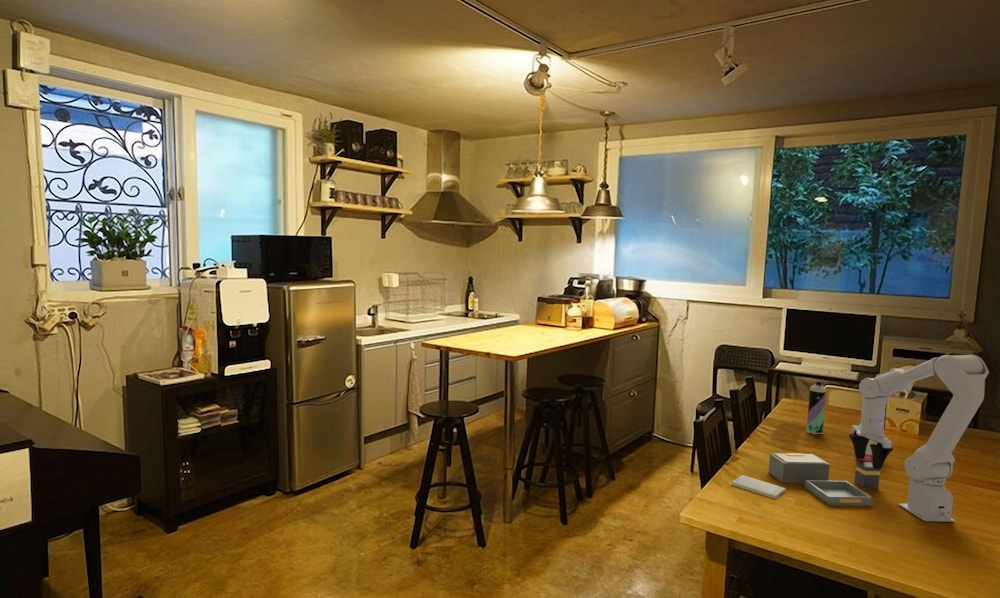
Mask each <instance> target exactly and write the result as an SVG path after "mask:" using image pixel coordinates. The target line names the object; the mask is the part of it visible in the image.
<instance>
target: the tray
mask: <svg viewBox="0 0 1000 598" xmlns="http://www.w3.org/2000/svg"><path fill="white" fill-rule="evenodd" d="M804 489H805V490H807V491H808V492H809V493H810V494H812V495H813V496H815V497H816V498H818V499H819V500H820V501H821V502H822V503H824V504H825V505H827V506H848V507H849V506H852V507H854V506H855V507H873V497H872V496H871V495H870V494H868V493H866V492H864V491H863V490H861V489H860V488H858V487H857V486H856V485H854V484H852V483H850V482H849V481H847V480H829V479H828V480H805V483H804Z"/></svg>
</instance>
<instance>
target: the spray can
mask: <svg viewBox="0 0 1000 598" xmlns="http://www.w3.org/2000/svg"><path fill="white" fill-rule="evenodd" d="M808 397H809V398H808V408H807V420H806V433H808V434H810V433H812V434H811V435H815V434H822V435H823V433H824V432H823V431H824V421H825V409H826V401H827V400H826V399H827V398H826V397H827V388H826V387H825V386H824V385H823V384H822V382H821V381H819V380H816V382H815V383H814V385H811V386H810V387H809V396H808Z"/></svg>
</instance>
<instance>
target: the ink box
mask: <svg viewBox="0 0 1000 598" xmlns="http://www.w3.org/2000/svg"><path fill="white" fill-rule="evenodd" d="M860 425H861V423H860V424H858V426H860ZM870 444H877V443H876V442H874V441H872V440H869V442H868V444H867V447H866V452H865V457H864V459H858V460H859V461H861V460H862V461H861V462H865V461H866V462H871V463H872V459H873V457H872V451H871V447H870ZM855 460H857V458H856V457H855Z"/></svg>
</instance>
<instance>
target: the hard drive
mask: <svg viewBox="0 0 1000 598" xmlns="http://www.w3.org/2000/svg"><path fill="white" fill-rule="evenodd" d="M730 485H731V486H732V485H734V486H733V487H735V486H737V487H736V488H739V487H741V488H740V489H742V488H743V489H742V490H745V489H746V490H745V491H748V490H750V491H749V492H751V491H752V493H754V492H756V493H755V494H757V493H759V494H758V495H761V494H762V496H764V495H765V496H764V497H767V496H768V497H767V498H770V497H772V498H771V499H773V498H774V499H773V500H777V499H778V498H779V497H780V495H781V494H782V495H783V494H785V491H786V492H787V488H786V487H783V486H780V485H776V484H773V483H770V482H768V481H767V482H766V481H764V480H760V479H757V478H753V477H750V476H747V475H745V474H744V475H743V474H742V475H740V476H738V477H737V478H736V479H734V480H732V481H731V484H730ZM782 495H781V496H782ZM776 498H777V499H776Z"/></svg>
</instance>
